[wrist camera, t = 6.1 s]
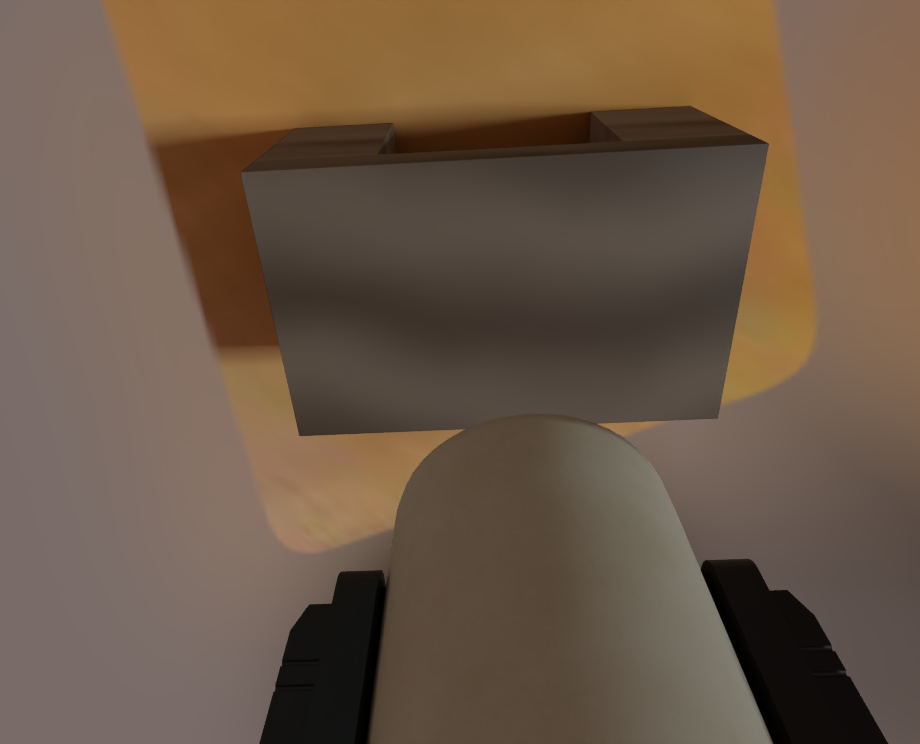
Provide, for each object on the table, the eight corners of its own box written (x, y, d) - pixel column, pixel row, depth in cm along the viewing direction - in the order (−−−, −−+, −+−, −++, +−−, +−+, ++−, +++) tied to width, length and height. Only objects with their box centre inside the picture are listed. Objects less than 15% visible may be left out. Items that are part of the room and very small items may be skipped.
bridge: (295, 128, 26) (240, 172, 19) (691, 106, 25) (768, 143, 19) (333, 344, 31) (299, 435, 25) (663, 329, 31) (717, 418, 24)
